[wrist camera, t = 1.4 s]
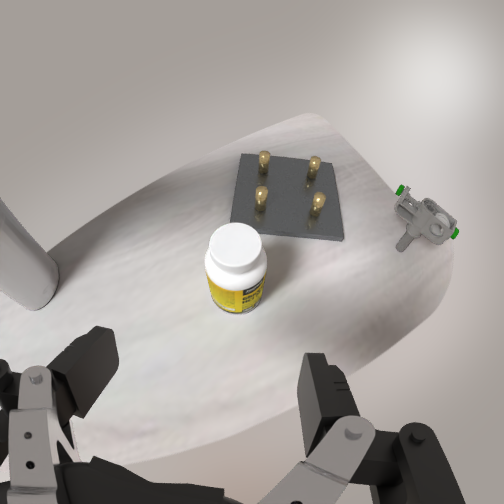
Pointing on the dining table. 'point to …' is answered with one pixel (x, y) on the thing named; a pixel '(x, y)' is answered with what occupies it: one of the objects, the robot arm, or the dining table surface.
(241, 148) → the dining table surface
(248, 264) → the pill bottle
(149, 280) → the dining table surface
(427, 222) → the mechanical component
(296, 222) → the plate
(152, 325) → the dining table surface
